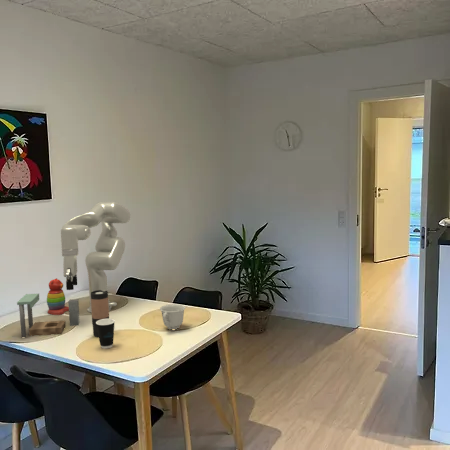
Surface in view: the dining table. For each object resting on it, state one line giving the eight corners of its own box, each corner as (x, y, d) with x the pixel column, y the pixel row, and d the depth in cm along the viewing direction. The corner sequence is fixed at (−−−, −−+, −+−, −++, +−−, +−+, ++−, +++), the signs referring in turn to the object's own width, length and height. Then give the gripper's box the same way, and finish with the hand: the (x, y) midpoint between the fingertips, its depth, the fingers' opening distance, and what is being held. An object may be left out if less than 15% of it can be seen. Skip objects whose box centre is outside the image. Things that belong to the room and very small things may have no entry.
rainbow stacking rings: (61, 315, 244) (59, 281, 242) (43, 314, 246) (41, 281, 244) (71, 309, 255) (69, 277, 253) (54, 308, 256) (51, 276, 254)
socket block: (65, 326, 226) (65, 320, 226) (61, 334, 216) (60, 327, 215) (35, 328, 224) (35, 322, 224) (29, 336, 214) (29, 329, 214)
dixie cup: (109, 350, 194) (107, 325, 193) (93, 348, 197) (91, 323, 196) (120, 344, 202) (118, 319, 200) (104, 342, 204) (103, 317, 203)
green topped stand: (41, 326, 226) (39, 293, 224) (33, 337, 213) (31, 301, 211) (28, 327, 226) (25, 294, 224) (19, 338, 212) (17, 302, 210)
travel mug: (94, 338, 208) (92, 295, 206) (91, 333, 215) (88, 291, 213) (112, 335, 212) (109, 292, 210) (108, 330, 219) (105, 289, 216)
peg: (79, 322, 232) (78, 299, 230) (78, 325, 228) (76, 301, 226) (71, 323, 231) (69, 299, 230) (69, 325, 227) (68, 301, 226)
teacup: (152, 333, 214) (151, 312, 213) (167, 323, 228) (167, 303, 227) (176, 336, 210) (175, 314, 209) (190, 325, 224) (189, 305, 222)
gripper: (65, 250, 233) (67, 283, 235) (58, 255, 216) (60, 292, 218) (81, 249, 234) (82, 283, 236) (74, 255, 217) (76, 291, 219)
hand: (72, 287), depth 227 cm, fingers open, 9 cm apart
